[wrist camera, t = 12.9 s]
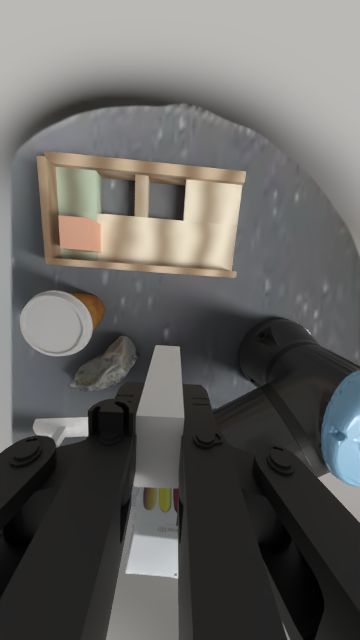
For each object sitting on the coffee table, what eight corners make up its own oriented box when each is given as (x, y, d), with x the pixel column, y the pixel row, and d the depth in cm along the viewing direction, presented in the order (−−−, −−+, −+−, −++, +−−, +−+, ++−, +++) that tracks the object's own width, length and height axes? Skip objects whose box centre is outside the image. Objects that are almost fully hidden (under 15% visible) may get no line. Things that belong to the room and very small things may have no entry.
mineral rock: (79, 384, 43) (53, 417, 33) (71, 335, 40) (40, 356, 31) (141, 381, 44) (133, 413, 34) (137, 332, 41) (127, 353, 31)
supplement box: (185, 449, 48) (193, 541, 32) (178, 479, 50) (181, 580, 34) (145, 443, 47) (131, 535, 31) (139, 474, 50) (123, 576, 33)
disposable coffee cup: (62, 281, 38) (14, 286, 26) (114, 288, 39) (90, 296, 27) (61, 330, 40) (17, 355, 28) (111, 336, 41) (87, 363, 29)
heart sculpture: (99, 416, 45) (53, 510, 28) (101, 435, 46) (59, 536, 29) (26, 419, 45) (-67, 516, 27) (30, 438, 46) (-57, 543, 28)
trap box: (238, 180, 35) (250, 165, 30) (226, 276, 39) (235, 277, 34) (56, 162, 33) (35, 142, 28) (63, 264, 37) (45, 264, 32)
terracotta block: (100, 224, 33) (90, 218, 29) (100, 252, 35) (91, 250, 30) (72, 222, 33) (58, 215, 29) (74, 250, 34) (60, 248, 30)
